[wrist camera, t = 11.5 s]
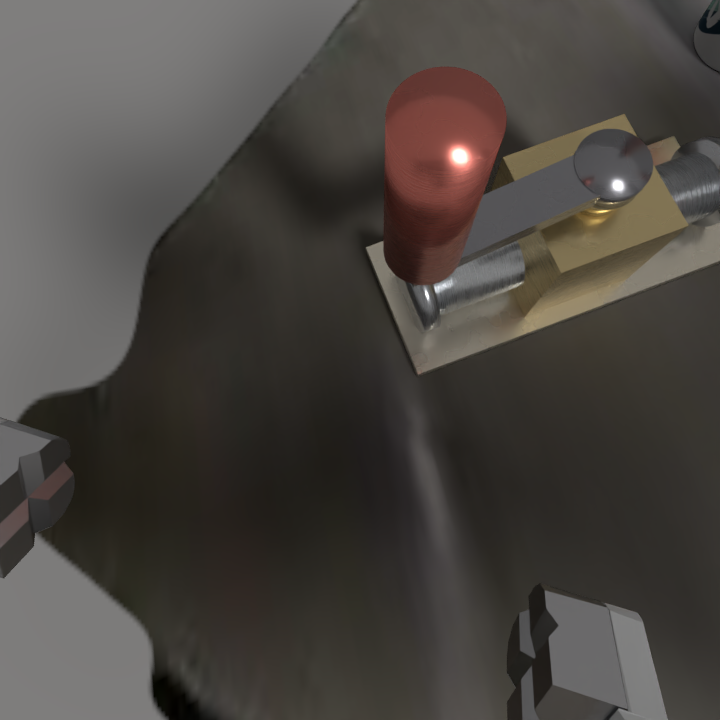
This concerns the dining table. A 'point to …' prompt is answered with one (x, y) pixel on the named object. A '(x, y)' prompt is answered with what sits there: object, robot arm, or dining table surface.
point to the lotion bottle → (709, 36)
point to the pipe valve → (565, 256)
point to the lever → (482, 177)
